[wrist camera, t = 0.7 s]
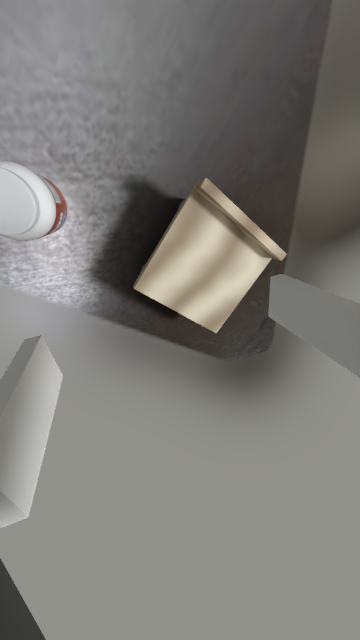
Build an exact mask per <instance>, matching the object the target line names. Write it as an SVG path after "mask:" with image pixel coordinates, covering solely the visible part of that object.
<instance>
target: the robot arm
mask: <svg viewBox="0 0 360 640" xmlns="http://www.w3.org/2000/svg"><path fill="white" fill-rule="evenodd" d="M268 316H269V317H270V318H272V319H273V320H275V321H276V322H278V323H279V324H281V325H282V326H284V327H285V328H287V329H288V330H290V331H291V332H293V333H294V334H296V335H297V336H299V337H300V338H301V339H303V340H304V341H306V342H308V343H309V344H310V345H312V346H313V347H315V348H317V349H318V350H320V351H321V352H322V353H324V354H326V355H327V356H328V357H330V358H332V359H333V360H334V361H336V362H337V363H339V364H340V365H342V366H343V367H345V368H347V369H348V370H349V371H351V372H352V373H354V374H355V375H357V376H358V377H360V304H359V303H357V302H354V301H351V300H348V299H346V298H343V297H340V296H338V295H335V294H333V293H330V292H327V291H324V290H322V289H319V288H317V287H314V286H312V285H309V284H306V283H304V282H301V281H298V280H296V279H293V278H290V277H288V276H285V275H283V274H280V275H276V276H272V277H271V281H270V298H269V315H268ZM62 378H63V375H62V374H61V372H60V370H59V368H58V366H57V364H56V362H55V360H54V358H53V356H52V355H51V353H50V351H49V349H48V347H47V345H46V343H45V341H44V340H43V338H42V336H41V335H40V336H36V337H32V338H29V339H25V340H24V342H23V343H22V345H21V347H20V348H19V350H18V352H17V353H16V355H15V357H14V358H13V360H12V362H11V364H10V365H9V366H8V368H7V370H6V371H5V373H4V375H3V377H2V378H1V380H0V528H2V527H5V526H7V525H10V524H12V523H15V522H17V521H20V520H23V519H25V518H28V517H29V513H30V509H31V504H32V500H33V496H34V492H35V488H36V484H37V480H38V476H39V472H40V468H41V464H42V460H43V456H44V452H45V448H46V443H47V439H48V435H49V431H50V427H51V423H52V419H53V415H54V411H55V407H56V403H57V399H58V394H59V390H60V386H61V382H62ZM0 640H46V639H45V638H44V636H43V634H42V632H41V630H40V629H39V627H38V625H37V623H36V622H35V620H34V618H33V616H32V614H31V613H30V611H29V609H28V607H27V605H26V604H25V602H24V600H23V598H22V596H21V595H20V593H19V591H18V589H17V587H16V586H15V584H14V582H13V581H12V579H11V577H10V575H9V573H8V571H7V570H6V568H5V566H4V564H3V562H2V561H1V559H0Z"/></svg>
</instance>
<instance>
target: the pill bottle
mask: <svg viewBox="0 0 360 640" xmlns="http://www.w3.org/2000/svg"><path fill="white" fill-rule="evenodd" d="M66 218H67V204H66V201H65V198H64V196H63V194H62V193H61V191H60V190H59V189H58V188H57V187H56V186H55V185H54V184H53V183H52V182H51V181H49V180H48V179H46V178H44V177H42V176H40V175H38V174H37V173H35V172H33V171H31V170H29V169H28V168H26V167H24V166H21V165H19V164H16V163H13V162H9V161H0V234H1V235H3V236H6V237H8V238H11V239H15V240H24V241H26V240H34V239H38V238H41V237H43V236H46V235H48V234H51V233H53V232H56V231H57V230H59V229H60V228H61V227H62V226H63V224H64V223H65V221H66Z"/></svg>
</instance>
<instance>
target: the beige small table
mask: <svg viewBox="0 0 360 640" xmlns="http://www.w3.org/2000/svg"><path fill="white" fill-rule="evenodd" d="M286 255H287V254H286V253H285V252H284V251H283V250H282V249H281V248H280V247H279V246H278V245H277V244H276V243H275V242H273V241H272V240H271V239H270V238H269V237H268V236H267V235H266V234H265V233H264V232H263V231H262V230H261V229H260V228H259V227H258V226H257V225H256V224H255V223H254V222H252V221H251V220H250V219H249V218H248V217H247V216H246V215H245V214H244V213H243V212H242V211H241V210H240V209H239V208H238V207H237V206H236V205H235V204H234V203H233V202H231V201H230V200H229V199H228V198H227V197H226V196H225V195H224V194H223V193H222V192H221V191H220V190H219V189H218V188H217V187H216V186H215V185H214V184H213V183H212V182H210V181H209V180H208V179H207V178H203V179H200V180H197V181H195V183H194V185H193V186H192V188H191V190H190V191H189V193H188V195H187V196H186V198H185V199H184V200H182V201H181V202H180V203H179V205H178V211H177V213H176V215H175V216H174V218H173V220H172V221H171V223H170V225H169V226H168V228H167V230H166V231H165V233H164V235H163V236H162V238H161V240H160V241H159V243H158V245H157V246H156V248H155V250H154V251H153V253H152V255H151V256H150V258H149V260H148V261H147V263H145V264H144V265H143V266H142V267H141V270H140V272H141V273H140V275H139V276H138V278H137V280H136V281H135V283H134V285H133V288H134V289H135V290H137V291H139V292H141V293H143V294H145V295H146V296H148V297H150V298H152V299H154V300H156V301H158V302H159V303H161V304H163V305H165V306H167V307H169V308H170V309H172V310H174V311H176V312H178V313H180V314H182V315H183V316H185V317H187V318H189V319H191V320H193V321H195V322H196V323H198V324H200V325H202V326H204V327H206V328H207V329H209V330H211V331H213V332H215V333H217V332H218V330H219V329H220V328H221V326H222V325H223V324H224V322H225V321H226V320H227V318H228V317H229V316H230V314H231V313H232V312H233V310H234V309H235V307H236V306H237V305H238V303H239V302H240V301H241V299H242V298H243V297H244V295H245V294H246V293H247V291H248V290H249V289H250V287H251V286H252V284H253V283H254V282H255V280H256V279H257V278H258V276H259V275H260V274H261V272H262V271H263V270H264V268H265V267H266V266H267V264H268V263H269V261H270V260H271V259H272V258H273V259H277V260H280V261H282V260H283V259H284V257H285V256H286Z"/></svg>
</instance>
